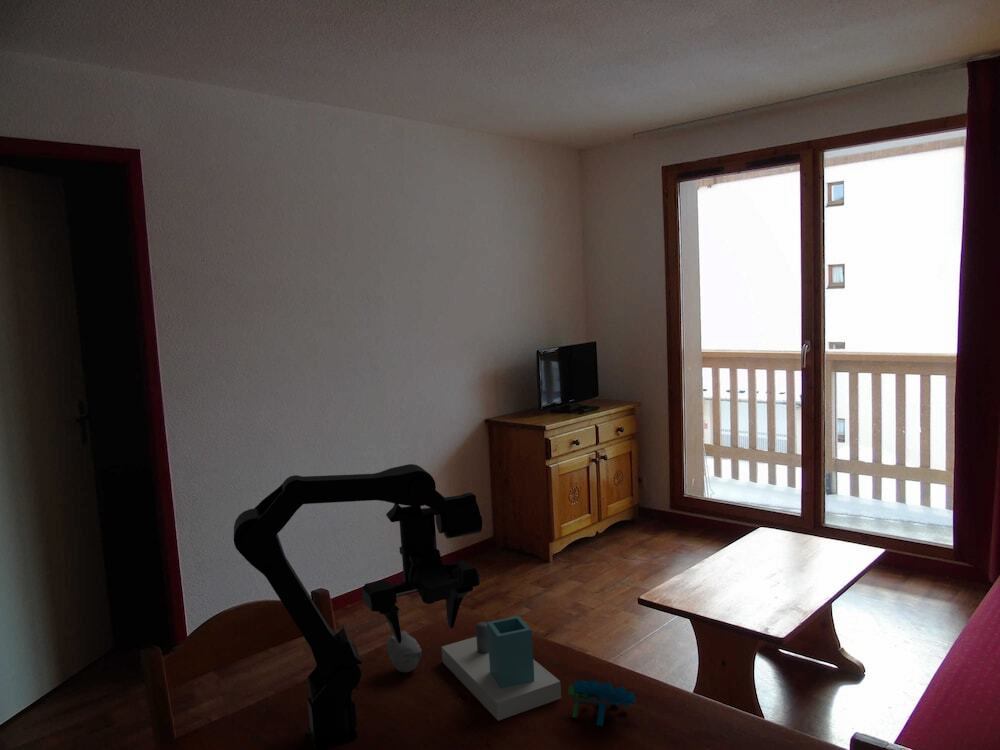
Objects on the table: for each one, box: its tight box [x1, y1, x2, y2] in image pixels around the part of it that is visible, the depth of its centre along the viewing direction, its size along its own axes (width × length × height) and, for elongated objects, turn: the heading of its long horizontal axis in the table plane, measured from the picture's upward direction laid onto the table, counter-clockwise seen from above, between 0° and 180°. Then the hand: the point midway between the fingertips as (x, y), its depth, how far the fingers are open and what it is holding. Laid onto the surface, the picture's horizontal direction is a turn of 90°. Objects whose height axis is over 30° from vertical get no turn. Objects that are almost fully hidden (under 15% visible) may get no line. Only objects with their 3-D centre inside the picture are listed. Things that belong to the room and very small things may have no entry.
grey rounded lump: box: [385, 630, 423, 673], centre depth 132 cm, size 6×7×7 cm
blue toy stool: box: [567, 679, 636, 728], centre depth 113 cm, size 11×6×10 cm
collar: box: [486, 615, 535, 688], centre depth 122 cm, size 6×6×9 cm
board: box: [441, 621, 562, 722], centre depth 127 cm, size 12×23×8 cm, turn 27°
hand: (425, 634), depth 118 cm, fingers open, 9 cm apart
